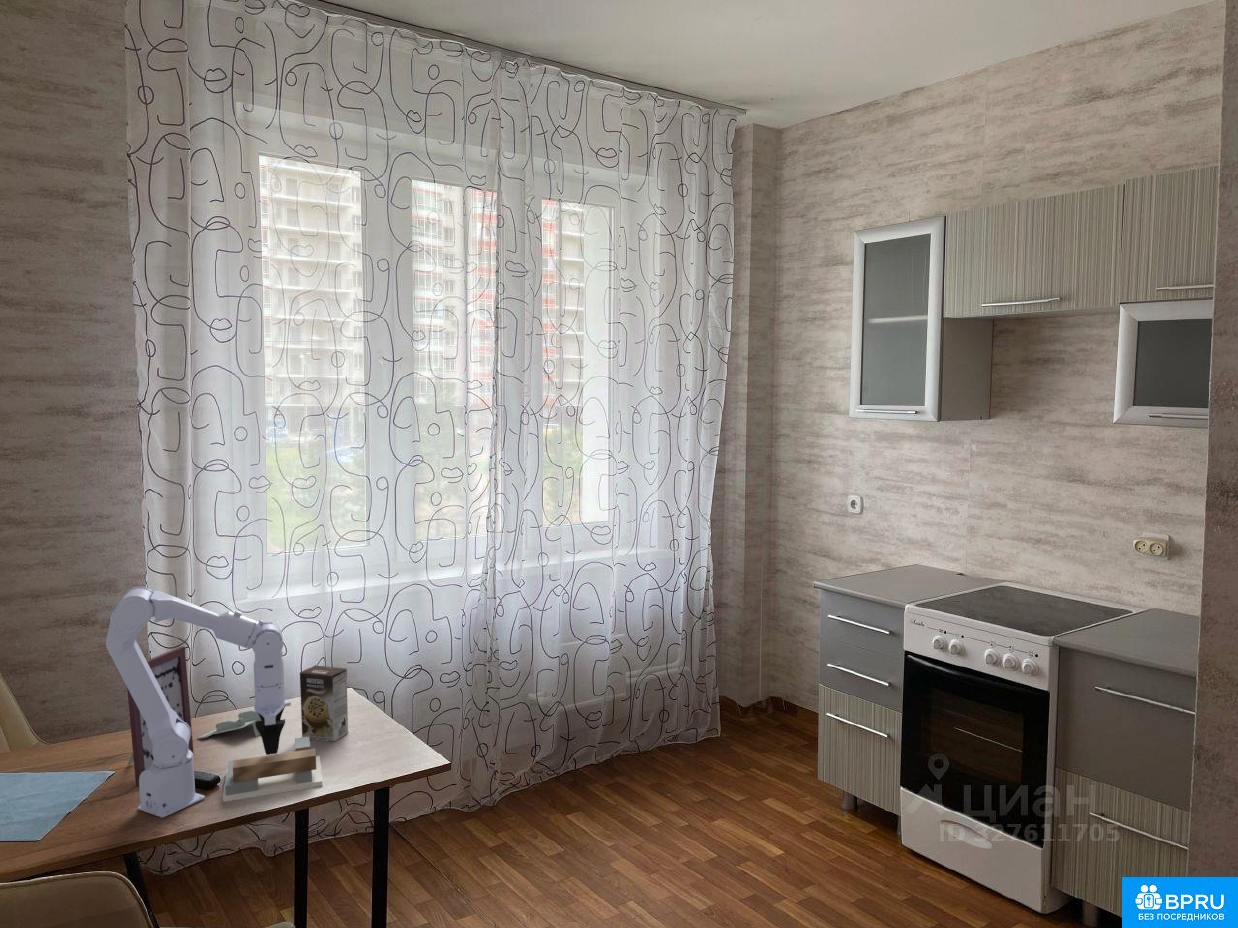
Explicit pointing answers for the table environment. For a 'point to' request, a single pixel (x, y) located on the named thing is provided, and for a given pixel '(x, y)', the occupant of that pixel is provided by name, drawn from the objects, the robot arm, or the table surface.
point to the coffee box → (324, 702)
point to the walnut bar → (274, 765)
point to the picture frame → (175, 690)
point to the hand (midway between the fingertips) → (271, 746)
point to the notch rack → (273, 780)
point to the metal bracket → (236, 723)
